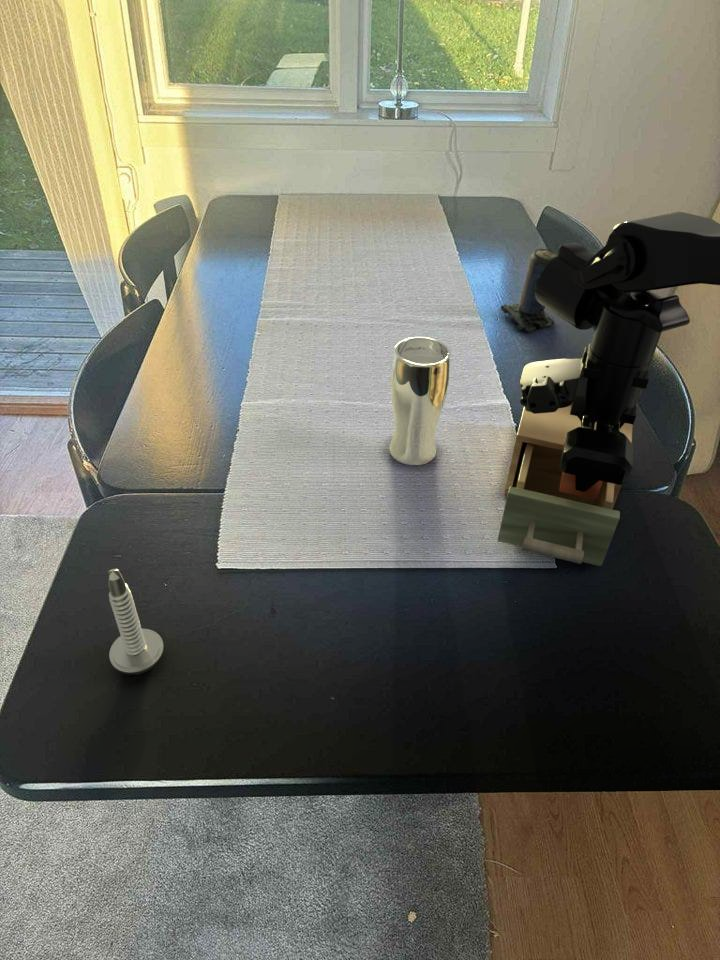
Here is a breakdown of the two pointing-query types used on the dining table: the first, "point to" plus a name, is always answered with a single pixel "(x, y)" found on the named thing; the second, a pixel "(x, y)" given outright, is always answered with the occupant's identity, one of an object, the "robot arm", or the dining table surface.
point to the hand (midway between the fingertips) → (581, 477)
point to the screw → (131, 632)
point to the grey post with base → (531, 295)
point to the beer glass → (418, 397)
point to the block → (569, 487)
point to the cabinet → (547, 438)
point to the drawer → (556, 513)
